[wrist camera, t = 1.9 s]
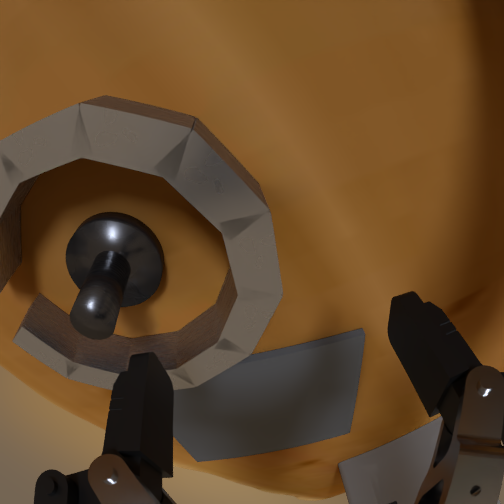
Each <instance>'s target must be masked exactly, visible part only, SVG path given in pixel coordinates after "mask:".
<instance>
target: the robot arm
mask: <svg viewBox="0 0 504 504" xmlns="http://www.w3.org/2000/svg"><path fill="white" fill-rule="evenodd" d="M388 337H389V340H390V343H391V345H392V347H393V349H394V351H395V352H396V354H397V356H398V358H399V360H400V361H401V363H402V365H403V367H404V369H405V371H406V373H407V374H408V376H409V378H410V380H411V382H412V384H413V386H414V388H415V390H416V391H417V393H418V395H419V397H420V399H421V401H422V403H423V405H424V407H425V409H426V411H427V413H428V415H429V417H432V416H434V415H436V414H438V413H440V414H441V416H442V418H443V420H442V422H441V426H440V430H439V435H438V439H437V443H436V446H435V450H434V454H433V457H432V461H431V464H430V467H429V470H428V473H427V475H426V477H425V478H424V480H423V482H422V484H421V487H420V489H419V492H418V495H417V497H416V500H415V503H414V504H497V502H498V498H499V494H500V489H501V485H502V480H503V475H504V446H502V445H501V440H502V442H503V444H504V372H499V371H498V370H497V369H495V368H493V367H491V366H485V365H482V364H481V363H480V361H479V360H478V359H477V357H476V356H475V354H474V353H473V351H472V350H471V349H470V347H469V346H468V344H467V343H466V342H465V340H464V339H463V337H462V336H461V335H460V333H459V332H458V331H456V328H455V326H454V325H453V324H452V322H451V323H450V320H449V318H448V317H447V316H446V314H445V313H444V312H443V311H442V309H440V308H439V307H437V306H436V305H434V304H433V303H431V302H426V303H423V301H422V300H421V299H420V297H419V296H418V295H417V294H416V293H415V292H414V291H411V292H408V293H405V294H402V295H398V296H395V297H393V298H392V300H391V307H390V315H389V322H388ZM111 399H112V400H111V401H110V407H109V409H110V411H109V413H108V419H107V426H106V433H105V440H104V447H103V452H102V455H101V456H99V457H98V458H96V459H95V460H94V461H93V462H92V463H91V465H90V467H89V469H87V470H84V471H81V472H77V473H74V474H70V475H66V476H65V475H64V474H62V473H61V472H59V471H57V470H47V471H45V472H43V473H42V474H41V475H40V476H39V478H38V479H37V482H36V487H35V496H34V504H176V503H175V502H174V501H173V499H172V498H171V497H170V496H169V495H168V494H167V492H166V491H165V490H164V489H163V488H162V478H170V477H173V408H174V389H173V384H172V381H171V379H170V377H169V375H168V374H167V372H166V370H165V369H164V367H163V366H162V364H161V362H160V361H159V359H158V357H157V356H156V354H155V353H154V352H147V353H140V354H134V355H131V357H130V360H129V365H128V371H123V372H120V374H119V376H118V378H117V379H116V381H115V383H114V384H113V389H112V395H111ZM389 504H397V501H394V502H391V503H389Z"/></svg>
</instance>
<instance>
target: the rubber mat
mask: <svg viewBox="0 0 504 504" xmlns="http://www.w3.org/2000/svg"><path fill="white" fill-rule="evenodd" d="M364 341H365V333H364V331H363V329H362V328H361V329H357V330H354V331H350V332H347V333H343V334H339V335H335V336H331V337H328V338H324V339H320V340H316V341H312V342H307V343H303V344H299V345H295V346H290V347H286V348H281V349H277V350H272V351H268V352H263V353H258V354H253V355H250V356H248V357H246V358H245V359H243V360H242V361H240V362H238V363H237V364H235V365H233V366H232V367H230V368H228V369H226V370H225V371H223V372H221V373H220V374H218V375H216V376H215V377H213V378H211V379H209V380H208V381H206V382H204V383H202V384H201V385H199V386H197V387H196V386H195V387H193V388H186V389H178V390H174V408H173V436H174V437H175V438H176V440H177V441H178V442H179V443H180V444H181V445H182V446H183V447H184V448H185V449H186V450H187V451H188V452H189V454H190V455H191V456H192V457H193V458H194V459H195V460H196V461H197V462H201V461H211V460H220V459H228V458H236V457H243V456H249V455H256V454H262V453H267V452H273V451H278V450H283V449H288V448H292V447H297V446H301V445H306V444H310V443H314V442H318V441H322V440H326V439H330V438H333V437H337V436H340V435H344V434H347V433H350V429H351V424H352V419H353V413H354V408H355V402H356V396H357V390H358V384H359V378H360V371H361V364H362V357H363V349H364Z"/></svg>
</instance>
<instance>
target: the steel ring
mask: <svg viewBox="0 0 504 504" xmlns="http://www.w3.org/2000/svg"><path fill="white" fill-rule="evenodd" d="M80 158H85V159H90V160H94V161H99V162H103V163H107V164H112V165H116V166H120V167H124V168H128V169H132V170H136V171H140V172H144V173H148V174H152V175H156V176H160V177H163V178H164V179H165V180H166V181H167V182H168V183H169V184H170V185H172V186H173V187H174V188H175V189H176V190H177V191H178V192H179V193H180V194H181V195H182V196H183V197H184V198H185V199H186V200H187V201H188V202H189V203H190V204H192V205H193V206H194V207H195V208H196V209H197V210H198V211H199V212H200V213H201V214H202V215H203V216H204V217H205V218H206V219H207V220H208V221H210V222H211V223H212V224H213V225H214V226H215V227H216V228H217V229H218V230H219V231H220V232H221V233H222V235H223V239H224V243H225V247H226V251H227V255H228V259H229V262H230V268H229V270H228V273H227V275H226V278H225V281H224V283H223V286H222V288H221V291H220V294H219V296H218V299H217V301H216V304H215V305H213V306H212V307H211V308H209V309H208V310H207V311H205V312H204V313H202V314H201V315H200V316H198V317H197V318H196V319H194V320H193V321H192V322H190V323H189V324H187V325H186V326H185V327H183V328H182V329H181V330H179V331H176V332H170V333H164V334H158V335H152V336H146V337H139V338H133V339H131V338H127V337H123V336H118V335H114V334H112V335H111V336H110V337H109V338H107V339H103V340H94V339H90V338H87V337H85V336H83V335H82V334H80V333H79V332H78V331H76V329H75V328H74V327H73V326H72V324H71V321H70V316H69V315H68V314H66V313H65V312H63V311H62V310H61V309H59V308H58V307H57V306H55V305H54V304H53V303H52V302H50V301H49V300H48V299H46V298H45V297H44V296H43V295H41V294H40V293H39V295H38V296H37V298H36V299H35V300H34V302H33V303H32V305H31V306H30V308H29V309H28V311H27V313H26V315H25V317H24V319H23V321H22V323H21V325H20V327H19V329H18V331H17V333H16V335H15V337H14V339H13V342H14V343H15V344H17V345H18V346H19V347H21V348H22V349H24V350H25V351H26V352H28V353H29V354H31V355H32V356H34V357H35V358H36V359H38V360H39V361H41V362H42V363H44V364H45V365H47V366H49V367H50V368H52V369H53V370H55V371H56V372H58V373H59V374H61V375H63V376H64V377H66V378H67V377H68V379H71V380H75V381H78V382H82V383H86V384H89V385H93V386H97V387H101V388H105V389H110V390H112V389H113V384H114V383H115V381H116V379H117V378H118V376H119V374H120V372H123V371H128V365H129V360H130V357H131V355H134V354H140V353H147V352H154V353H155V354H156V356H157V357H158V359H159V361H160V362H161V364H162V366H163V367H164V369H165V370H166V372H167V374H168V375H169V377H170V379H171V381H172V384H173V389H174V390H178V389H186V388H193V387H195V386H196V387H197V386H199V385H201V384H202V383H204V382H206V381H208V380H209V379H211V378H213V377H215V376H216V375H218V374H220V373H221V372H223V371H225V370H226V369H228V368H230V367H232V366H233V365H235V364H237V363H238V362H240V361H242V360H243V359H245V358H246V357H248V356H250V354H252V352H253V350H254V348H255V347H256V345H257V343H258V341H259V339H260V338H261V336H262V334H263V332H264V330H265V328H266V326H267V325H268V323H269V321H270V319H271V317H272V315H273V313H274V312H275V310H276V308H277V306H278V304H279V302H280V300H281V298H282V296H283V290H282V283H281V276H280V270H279V263H278V256H277V250H276V243H275V237H274V230H273V224H272V218H271V212H270V209H269V207H268V204H267V202H266V199H265V197H264V195H263V192H262V190H261V187H260V185H259V183H258V182H257V181H256V180H255V179H254V178H253V177H252V175H251V174H250V173H249V172H248V171H247V170H246V169H245V168H244V167H243V166H242V165H241V164H240V162H239V161H238V160H237V159H236V158H235V157H234V156H233V155H232V154H231V153H230V152H229V151H228V150H227V149H226V147H225V146H224V145H223V144H222V143H221V142H220V141H219V140H218V139H217V138H216V137H215V136H214V135H213V134H212V133H211V132H210V131H209V130H208V129H207V127H206V126H205V125H204V124H203V123H202V122H201V121H200V120H199V119H198V118H196V119H195V116H191V115H187V114H184V113H180V112H176V111H172V110H168V109H164V108H160V107H156V106H152V105H148V104H144V103H139V102H135V101H130V100H126V99H121V98H116V97H111V96H106V95H105V96H100V97H97V98H94V99H90V100H87V101H84V102H81V103H78V104H76V105H73V106H71V107H68V108H66V109H64V110H61V111H59V112H57V113H55V114H52V115H50V116H48V117H46V118H44V119H42V120H39V121H37V122H35V123H33V124H31V125H29V126H27V127H25V128H23V129H21V130H19V131H18V132H16V133H14V134H12V135H10V136H8V137H6V138H4V139H3V140H1V141H0V293H1V291H2V290H3V288H4V287H5V285H6V284H7V282H8V281H9V279H10V278H11V276H12V275H13V274H14V272H15V271H16V269H17V268H18V267H19V265H20V264H21V262H22V257H21V231H20V205H21V204H22V202H23V200H24V199H25V197H26V195H27V194H28V192H29V190H30V189H31V187H32V186H33V184H34V182H35V181H36V179H37V178H38V176H39V175H40V174H41V173H44V172H46V171H49V170H51V169H53V168H56V167H59V166H61V165H64V164H66V163H69V162H72V161H74V160H77V159H80Z"/></svg>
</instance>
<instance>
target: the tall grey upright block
mask: <svg viewBox="0 0 504 504" xmlns="http://www.w3.org/2000/svg"><path fill="white" fill-rule="evenodd" d="M442 420H443V418H442V416H441V417H439V418H437V419H435V420H434V421H432V422H430V423H428V424H426V425H424V426H422V427H420V428H418V429H416V430H414V431H412V432H410V433H408V434H406V435H404V436H402V437H400V438H398V439H396V440H394V441H391V442H389V443H387V444H385V445H383V446H380V447H378V448H376V449H373V450H371V451H368V452H366V453H363V454H361V455H358V456H356V457H353V458H351V459H348V460H345V461H343V462H340V463H339V464H338V467H339V470H340V474H341V477H342V481H343V484H344V488H345V491H346V494H347V498H348V502H349V504H389V503H391V502H394V501H397V504H414V503H415V500H416V497H417V495H418V492H419V489H420V487H421V484H422V482H423V480H424V478H425V477H426V475H427V473H428V470H429V467H430V464H431V461H432V457H433V454H434V450H435V446H436V443H437V439H438V435H439V430H440V426H441V422H442ZM497 504H501V503H500V501H499V498H498V502H497Z"/></svg>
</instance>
